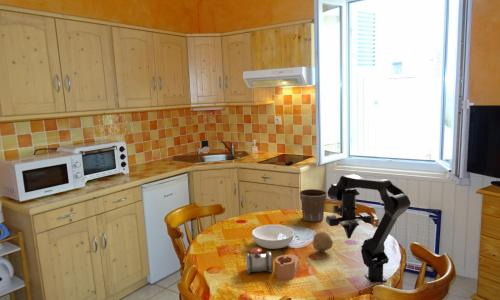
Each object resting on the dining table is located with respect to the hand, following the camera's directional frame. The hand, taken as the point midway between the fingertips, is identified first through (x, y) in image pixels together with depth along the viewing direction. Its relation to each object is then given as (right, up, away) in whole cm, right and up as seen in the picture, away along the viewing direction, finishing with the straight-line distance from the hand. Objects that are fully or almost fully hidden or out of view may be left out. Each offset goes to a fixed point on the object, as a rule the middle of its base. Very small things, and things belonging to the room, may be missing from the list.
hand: (348, 238), depth 159 cm
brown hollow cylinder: (-27, -14, -1) cm, 30 cm away
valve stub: (-39, -14, -2) cm, 41 cm away
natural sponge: (-8, -10, +14) cm, 20 cm away
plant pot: (-5, -3, +59) cm, 59 cm away
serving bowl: (-31, -10, +24) cm, 41 cm away
